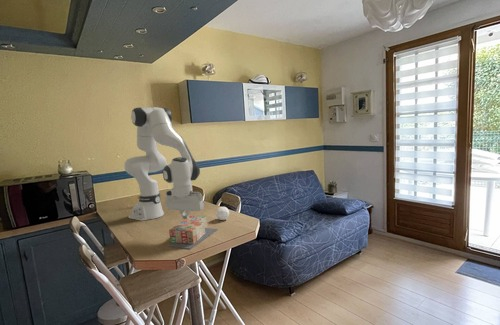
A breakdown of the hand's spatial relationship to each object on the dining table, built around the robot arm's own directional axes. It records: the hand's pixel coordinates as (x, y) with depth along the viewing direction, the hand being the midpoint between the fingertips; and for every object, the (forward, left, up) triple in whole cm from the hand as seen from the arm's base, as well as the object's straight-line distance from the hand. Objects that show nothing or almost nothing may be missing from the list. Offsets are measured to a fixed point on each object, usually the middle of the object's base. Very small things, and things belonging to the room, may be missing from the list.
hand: (185, 218), depth 131 cm
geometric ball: (+5, +27, -9) cm, 29 cm away
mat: (+4, 0, -9) cm, 10 cm away
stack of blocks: (-5, +1, -6) cm, 8 cm away
